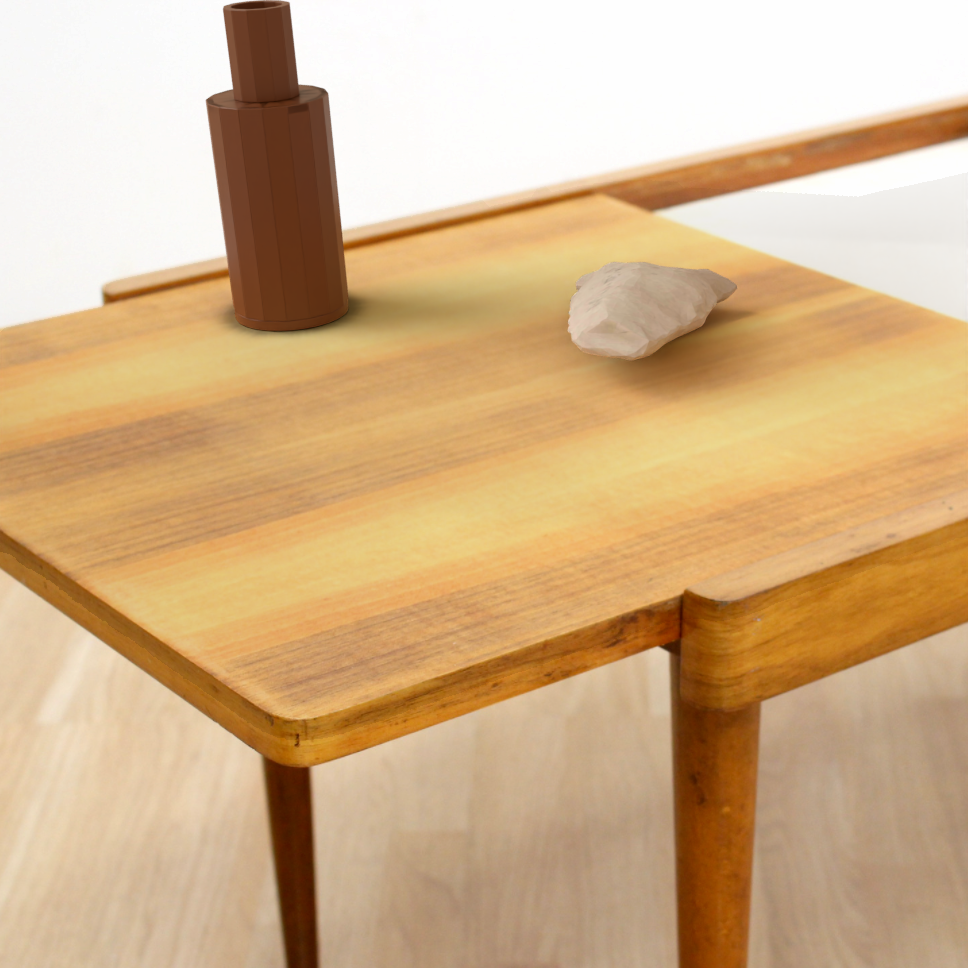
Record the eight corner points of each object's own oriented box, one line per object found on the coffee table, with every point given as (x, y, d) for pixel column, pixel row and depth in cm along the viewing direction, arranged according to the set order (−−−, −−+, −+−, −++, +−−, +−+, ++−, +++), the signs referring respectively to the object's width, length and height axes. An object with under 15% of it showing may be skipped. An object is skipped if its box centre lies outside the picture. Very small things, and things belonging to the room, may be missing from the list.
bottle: (270, 339, 91) (230, 19, 83) (215, 311, 96) (172, 7, 87) (370, 312, 94) (341, 3, 86) (312, 287, 99) (279, -8, 91)
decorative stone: (742, 239, 91) (694, 323, 78) (739, 309, 93) (691, 402, 80) (580, 228, 93) (508, 308, 80) (581, 297, 95) (510, 386, 82)
